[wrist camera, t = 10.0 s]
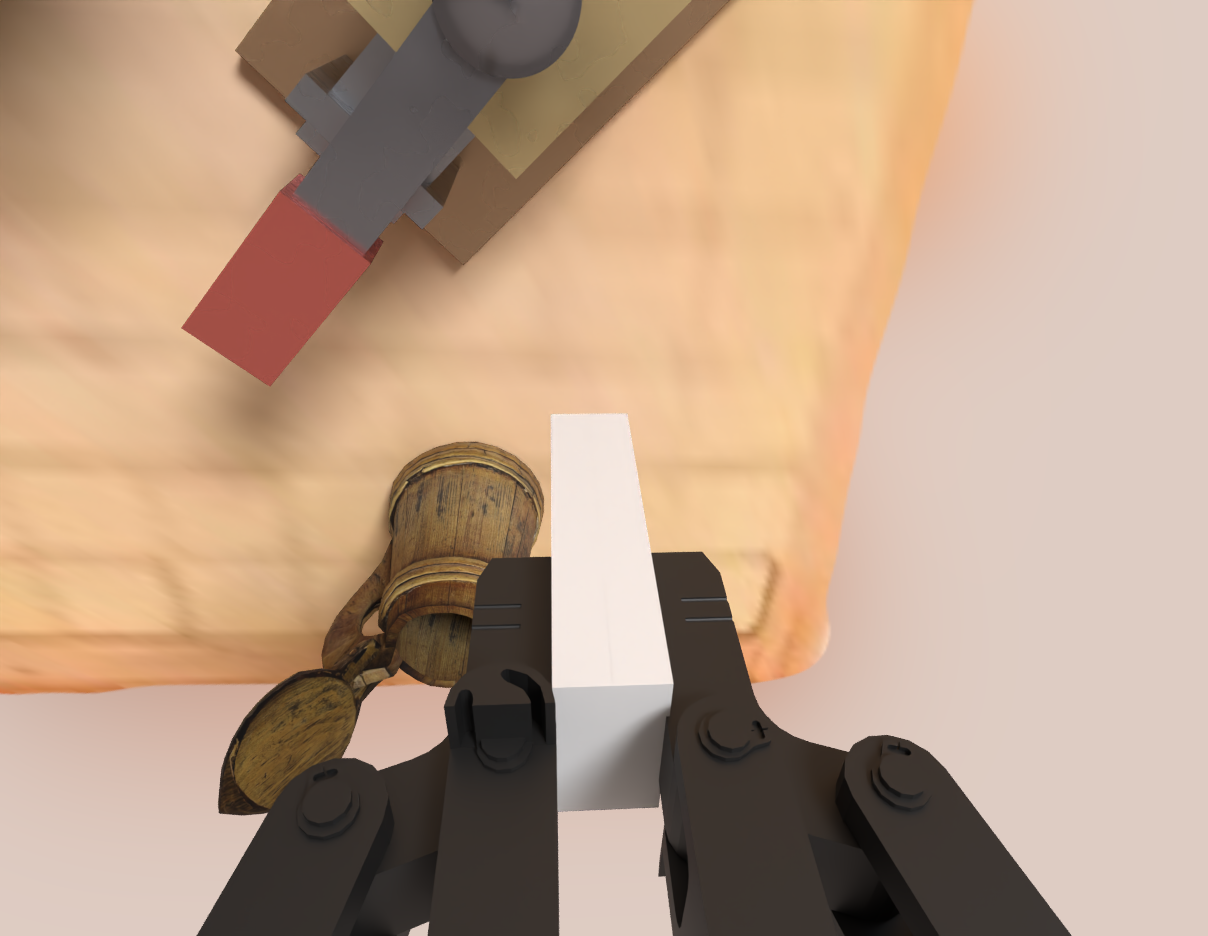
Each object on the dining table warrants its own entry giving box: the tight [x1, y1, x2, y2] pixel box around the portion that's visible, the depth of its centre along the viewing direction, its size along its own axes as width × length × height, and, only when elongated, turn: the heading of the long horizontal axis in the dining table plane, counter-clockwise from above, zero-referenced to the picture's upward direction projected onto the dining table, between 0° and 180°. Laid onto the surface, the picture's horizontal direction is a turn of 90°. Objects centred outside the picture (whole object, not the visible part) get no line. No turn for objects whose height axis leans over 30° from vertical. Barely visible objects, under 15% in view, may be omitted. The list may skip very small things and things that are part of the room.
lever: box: [182, 0, 582, 386], centre depth 23 cm, size 16×4×2 cm, turn 135°
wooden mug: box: [218, 442, 544, 815], centre depth 37 cm, size 9×14×18 cm, turn 100°
